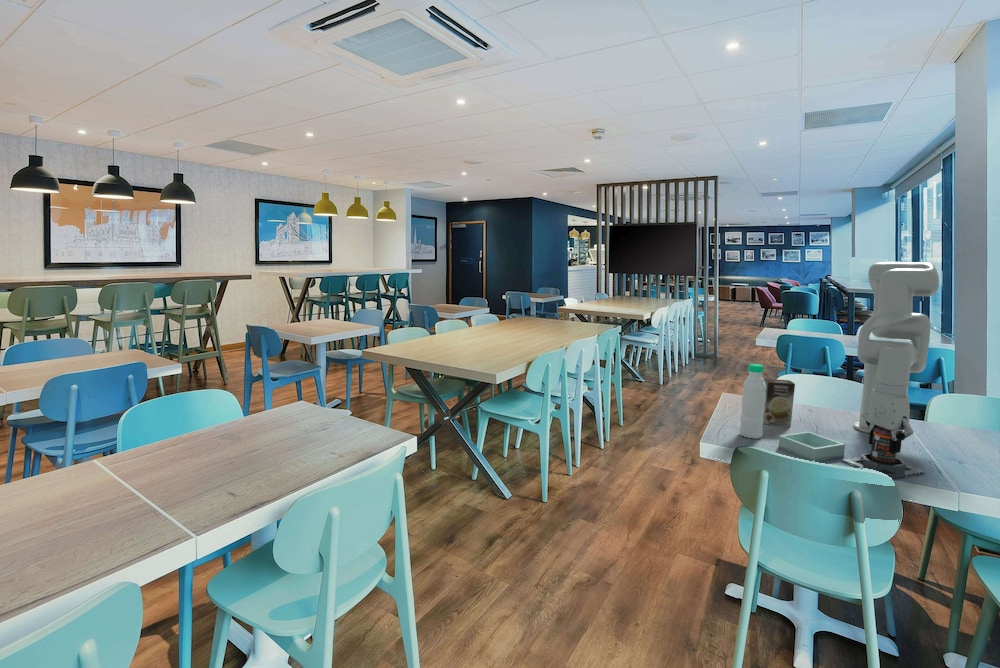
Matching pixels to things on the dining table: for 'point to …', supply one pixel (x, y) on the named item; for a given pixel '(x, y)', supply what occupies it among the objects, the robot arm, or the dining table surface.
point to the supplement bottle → (882, 445)
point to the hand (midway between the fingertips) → (884, 447)
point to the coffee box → (778, 402)
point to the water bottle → (753, 403)
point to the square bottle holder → (884, 466)
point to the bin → (811, 446)
